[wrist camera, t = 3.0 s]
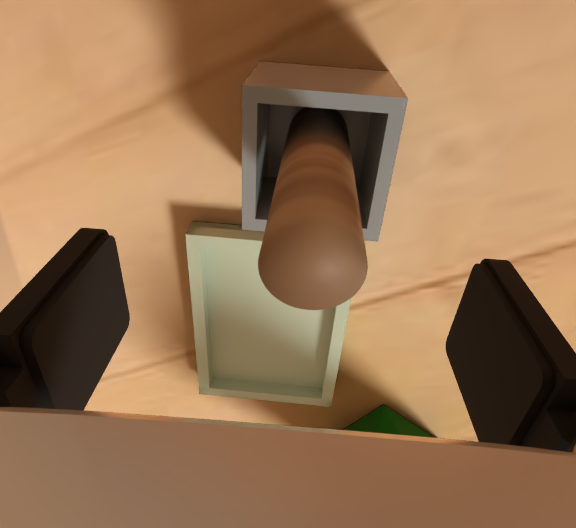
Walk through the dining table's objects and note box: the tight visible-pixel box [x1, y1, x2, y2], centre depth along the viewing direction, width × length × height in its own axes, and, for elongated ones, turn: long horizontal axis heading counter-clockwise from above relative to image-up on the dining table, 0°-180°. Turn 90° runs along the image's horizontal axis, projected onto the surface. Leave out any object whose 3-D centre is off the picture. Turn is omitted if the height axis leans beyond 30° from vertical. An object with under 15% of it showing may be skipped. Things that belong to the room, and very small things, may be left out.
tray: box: [185, 221, 351, 407], centre depth 29 cm, size 14×10×2 cm
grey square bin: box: [242, 61, 408, 241], centre depth 20 cm, size 6×6×6 cm
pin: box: [258, 107, 368, 310], centre depth 17 cm, size 3×3×12 cm
